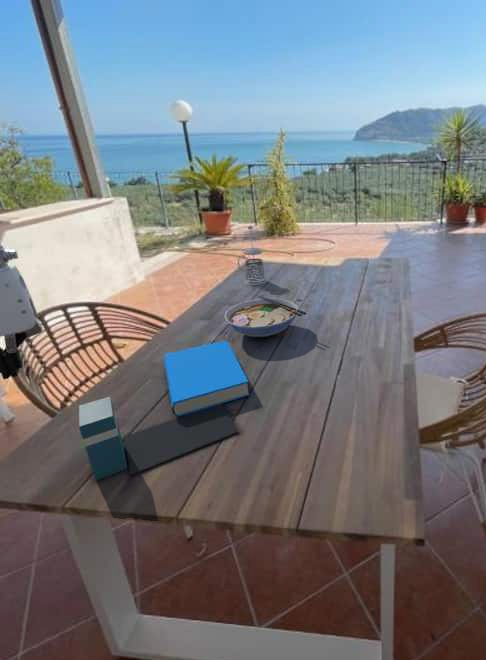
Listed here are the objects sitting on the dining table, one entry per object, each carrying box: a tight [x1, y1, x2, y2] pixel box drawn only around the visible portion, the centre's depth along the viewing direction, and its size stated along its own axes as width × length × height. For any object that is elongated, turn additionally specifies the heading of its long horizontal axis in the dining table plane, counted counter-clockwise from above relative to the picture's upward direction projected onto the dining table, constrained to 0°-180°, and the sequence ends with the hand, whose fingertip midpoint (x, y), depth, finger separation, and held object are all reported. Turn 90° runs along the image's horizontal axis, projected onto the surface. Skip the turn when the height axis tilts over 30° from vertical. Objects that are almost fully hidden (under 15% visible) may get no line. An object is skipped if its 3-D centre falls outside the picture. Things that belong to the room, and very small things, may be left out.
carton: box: [78, 396, 128, 481], centre depth 72 cm, size 5×7×12 cm
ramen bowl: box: [224, 294, 307, 338], centre depth 125 cm, size 25×23×8 cm
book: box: [163, 340, 251, 418], centre depth 99 cm, size 17×4×25 cm
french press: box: [237, 225, 268, 286], centre depth 169 cm, size 10×12×25 cm
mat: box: [123, 403, 239, 477], centre depth 81 cm, size 20×12×1 cm, turn 125°
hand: (11, 373), depth 62 cm, fingers closed
